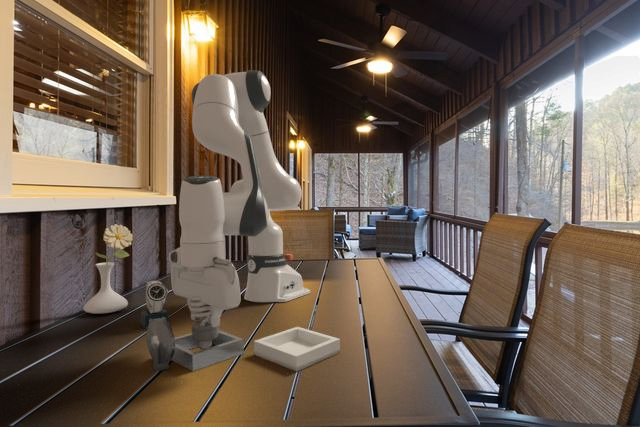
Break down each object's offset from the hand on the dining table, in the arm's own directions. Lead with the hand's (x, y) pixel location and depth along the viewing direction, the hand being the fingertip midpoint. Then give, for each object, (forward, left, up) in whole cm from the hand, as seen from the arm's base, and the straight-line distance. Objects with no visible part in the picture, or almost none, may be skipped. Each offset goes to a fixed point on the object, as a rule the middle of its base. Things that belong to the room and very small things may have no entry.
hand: (205, 322), depth 82 cm
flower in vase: (+1, -50, -7) cm, 50 cm away
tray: (-12, +14, -6) cm, 20 cm away
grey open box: (+3, 0, -6) cm, 7 cm away
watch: (-2, -28, -7) cm, 29 cm away
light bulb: (0, 0, -6) cm, 6 cm away
